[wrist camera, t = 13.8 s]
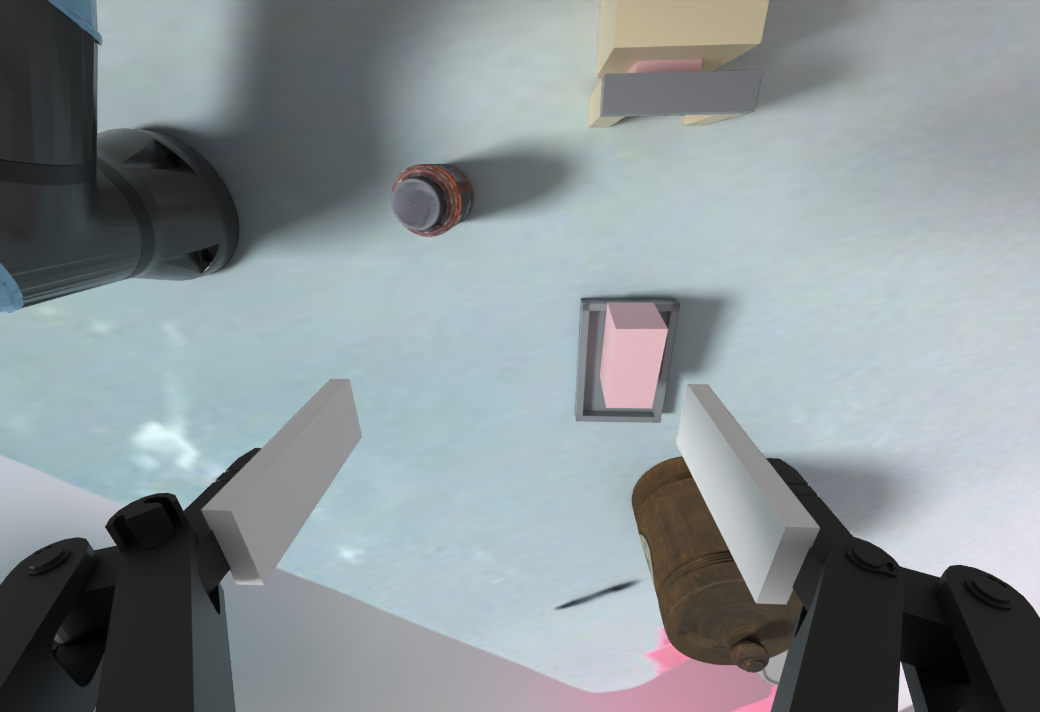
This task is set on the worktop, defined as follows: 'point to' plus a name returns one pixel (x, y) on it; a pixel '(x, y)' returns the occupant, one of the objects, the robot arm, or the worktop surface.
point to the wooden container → (703, 577)
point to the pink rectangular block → (631, 354)
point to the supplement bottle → (431, 198)
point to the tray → (590, 356)
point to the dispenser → (675, 59)
